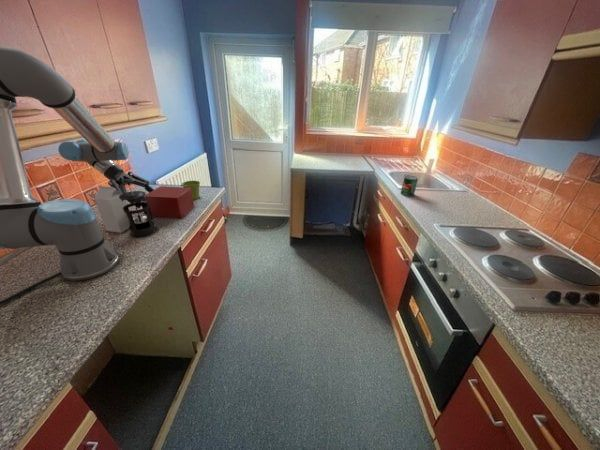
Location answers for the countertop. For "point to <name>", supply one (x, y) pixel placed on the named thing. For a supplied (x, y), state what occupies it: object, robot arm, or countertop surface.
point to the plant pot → (193, 188)
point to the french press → (138, 220)
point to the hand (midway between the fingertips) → (149, 201)
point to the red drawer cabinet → (170, 202)
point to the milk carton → (112, 209)
